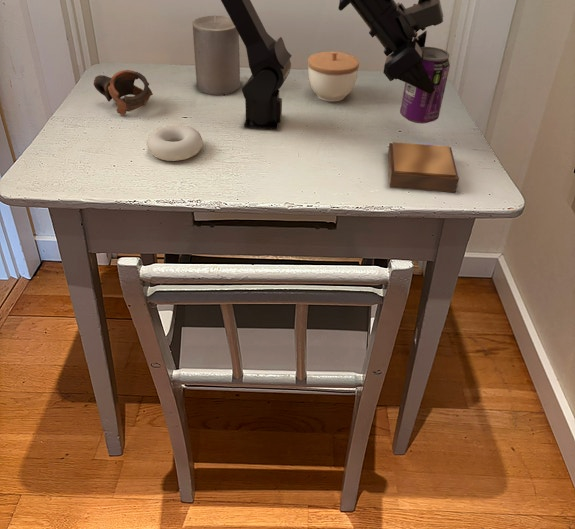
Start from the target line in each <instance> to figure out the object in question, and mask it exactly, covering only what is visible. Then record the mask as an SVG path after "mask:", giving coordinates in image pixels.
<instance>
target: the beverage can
mask: <svg viewBox="0 0 575 529" xmlns="http://www.w3.org/2000/svg"><path fill="white" fill-rule="evenodd" d="M420 48H421V51H424V58H423V63H422V64H423V66H424V68H425V70H426V72H427V74H428V76H429V78H430V80H431V82H432V84H433V86H434V88H435V91H434V92H432V93H431V94H429V93H427V92H425V91H423V90H421V89H419V88H417V87H415V86H412V85H410V84H408V83H406V82H404V87H403V93H402V98H401V104H400V110H399V113H400V115H401V116H402V117H403V118H405V119H406V120H407V121H409V122H412V123H415V124H428V123H431V122H435V121H437V120H438V119H439V117H440V112H441V108H442V103H443V99H444V95H445V91H446V86H447V81H448V76H449V72H450V69H451V68H450V67H451V64H450V53H449V51H446V50H444V49H442V48H439V47H434V46H425V47H420Z"/></svg>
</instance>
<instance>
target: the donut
mask: <svg viewBox="0 0 575 529" xmlns="http://www.w3.org/2000/svg"><path fill="white" fill-rule="evenodd" d="M203 141H204V140H203V137H202V135H201V133H200V132H199V131H198V130H196V129H195V128H194V127H192V126H189V125H185V124H169V125H168V124H167V125H164V126H160V127H157V128H156V129H154V130H153V131H152V132H150V133H149V134H148V137H147V139H146V148H147V150H148V152H149V153H150V154H151V155H152V156H153V157H155V158H157V159H159V160H162V161H168V162H177V161H184V160H187V159H190V158H192V157H194V156H196V155H197V154H199V152H200V151H201V150H202V148H203V143H204V142H203Z"/></svg>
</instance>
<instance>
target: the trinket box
mask: <svg viewBox="0 0 575 529" xmlns="http://www.w3.org/2000/svg"><path fill="white" fill-rule="evenodd" d="M307 65H308V67H307V68H308V72H307V75H308V82H309V86H310V88H311V89H312V92H313V93H314V94H316V97H317V98H318V99H319V100H321V101H325V102H331V103H332V102H340V101H343V100H344V99H345V98H346V96H348V95H349V94H351V92H352V91H353V89H354V87H355V84H356V82H357V78H358V72H359V68H360V61H359V59H358V58H357V57H356V56H354V55H352V54H350V53H346V52H342V51H341V52H340V51H322V52H317V53H314V54H311V55H310V56H309V58H308V59H307Z"/></svg>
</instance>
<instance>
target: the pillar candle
mask: <svg viewBox="0 0 575 529" xmlns="http://www.w3.org/2000/svg"><path fill="white" fill-rule="evenodd" d="M192 36H193V37H192V38H193V51H194V52H193V53H194V65H195V66H194V67H195V80H196V88H197V89H198V91H200V92H202V93H204V94H208V95H214V96H215V95H217V96H218V95H219V96H220V95H229V94H232V93H234V92H235V91H237V90H239V89H240V88H241V69H240V68H241V64H240V62H241V61H240V35H239V33H238V31H237V30H236V28H235V26H234V24H233V22H232V20H231V18H230V16H226V15H205V16H201V17H198V18H195V19H194V20H193V21H192Z"/></svg>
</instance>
